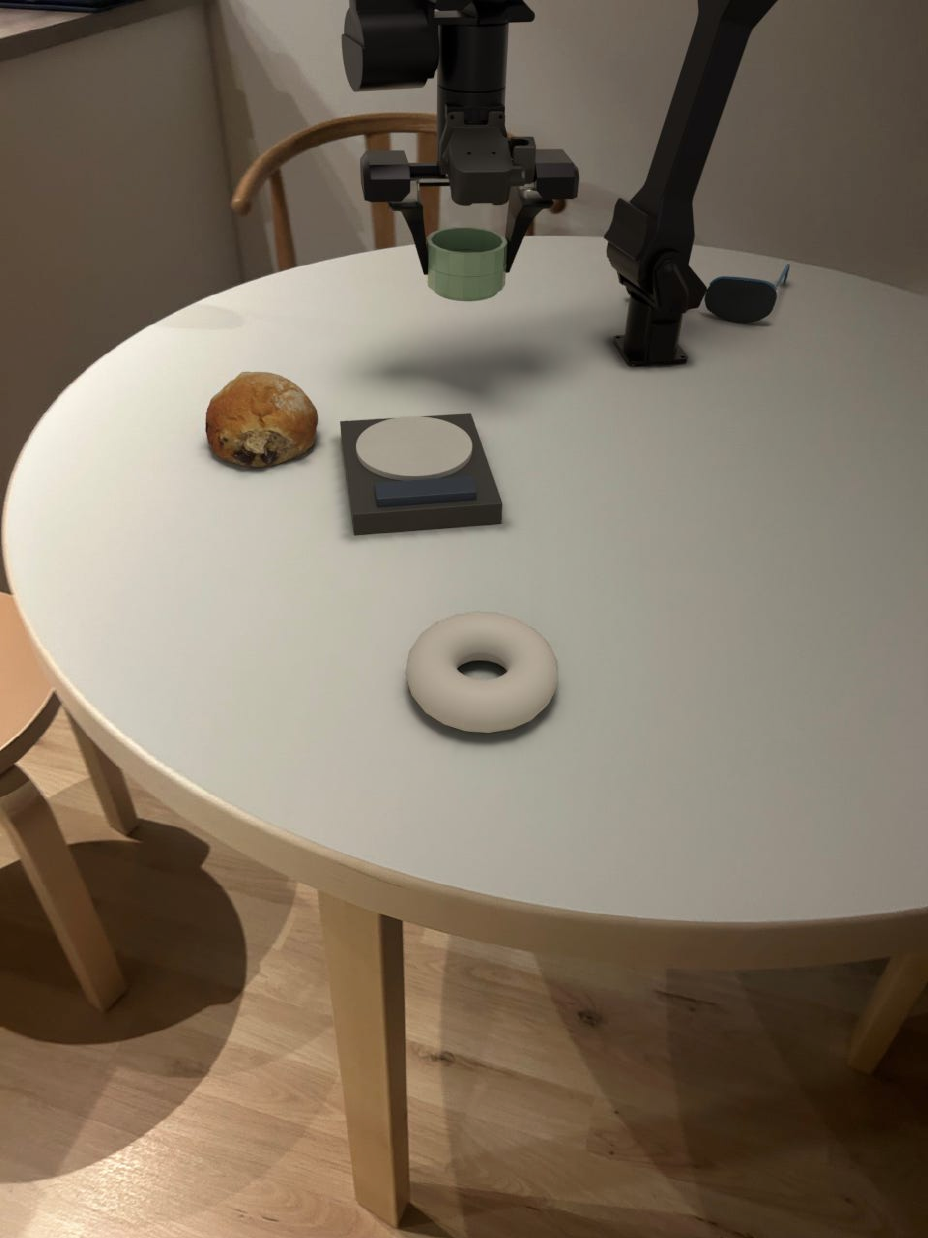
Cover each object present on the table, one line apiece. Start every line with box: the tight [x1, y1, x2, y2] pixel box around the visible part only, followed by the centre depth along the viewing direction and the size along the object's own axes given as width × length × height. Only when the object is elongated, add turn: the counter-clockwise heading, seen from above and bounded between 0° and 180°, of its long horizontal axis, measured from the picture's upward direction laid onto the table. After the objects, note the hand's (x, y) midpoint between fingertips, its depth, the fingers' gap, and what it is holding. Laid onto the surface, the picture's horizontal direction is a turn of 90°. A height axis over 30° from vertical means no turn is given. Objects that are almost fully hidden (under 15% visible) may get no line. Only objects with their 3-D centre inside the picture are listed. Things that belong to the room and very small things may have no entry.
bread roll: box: [204, 371, 319, 468], centre depth 86 cm, size 10×10×8 cm
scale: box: [339, 412, 503, 536], centre depth 82 cm, size 15×12×3 cm
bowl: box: [425, 226, 507, 302], centre depth 89 cm, size 7×7×4 cm
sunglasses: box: [625, 263, 791, 324], centre depth 115 cm, size 17×15×5 cm
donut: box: [404, 610, 559, 734], centre depth 62 cm, size 10×4×10 cm
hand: (465, 272), depth 90 cm, fingers closed on bowl, 7 cm apart
